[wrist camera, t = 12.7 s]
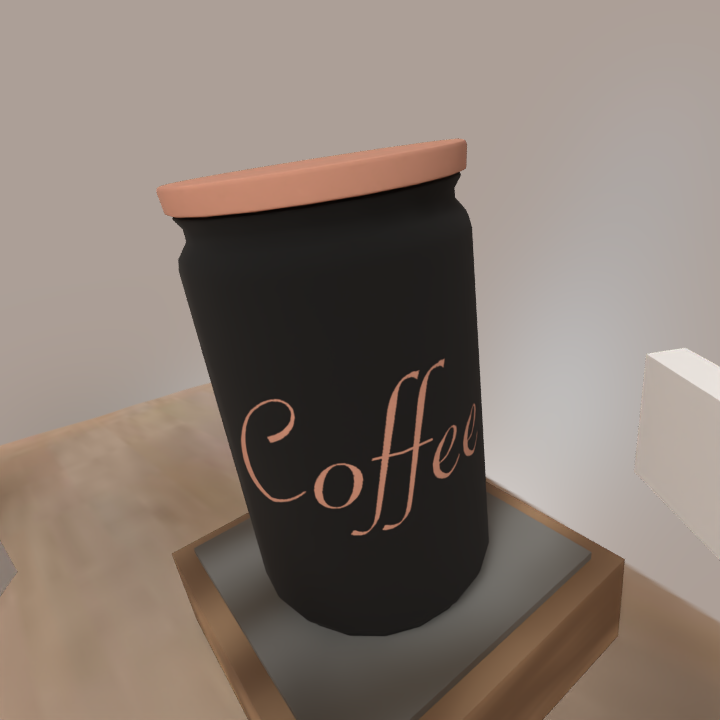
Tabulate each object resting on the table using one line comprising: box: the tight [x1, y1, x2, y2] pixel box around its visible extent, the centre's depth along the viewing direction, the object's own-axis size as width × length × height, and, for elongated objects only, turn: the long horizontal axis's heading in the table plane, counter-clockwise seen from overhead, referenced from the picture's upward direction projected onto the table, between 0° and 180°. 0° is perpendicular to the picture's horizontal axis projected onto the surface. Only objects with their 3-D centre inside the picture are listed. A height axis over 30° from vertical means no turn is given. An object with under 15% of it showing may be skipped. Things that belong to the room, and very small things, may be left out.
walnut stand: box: [172, 482, 625, 720], centre depth 26 cm, size 16×16×5 cm
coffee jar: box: [157, 139, 489, 636], centre depth 21 cm, size 11×11×18 cm
